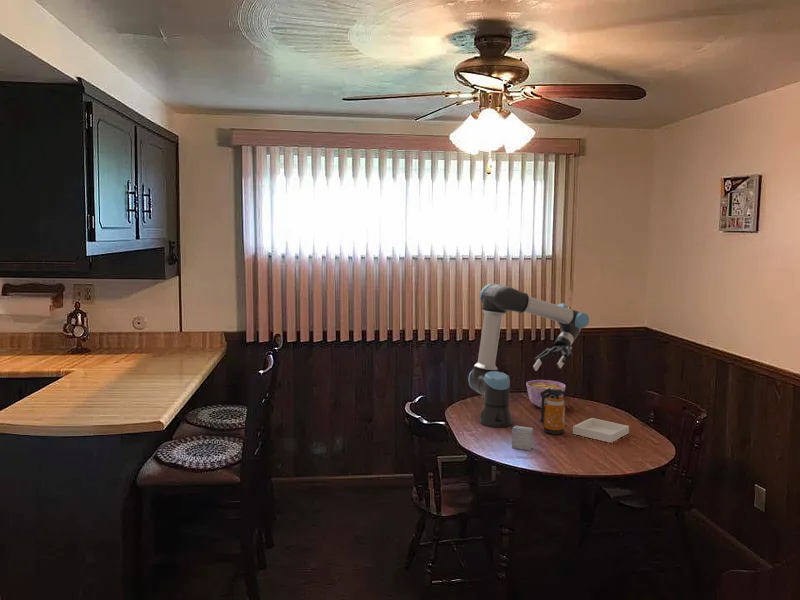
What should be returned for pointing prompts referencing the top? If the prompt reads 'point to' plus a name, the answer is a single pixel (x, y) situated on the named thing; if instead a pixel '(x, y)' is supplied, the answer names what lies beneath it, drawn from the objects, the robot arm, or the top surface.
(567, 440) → the top surface
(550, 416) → the canister
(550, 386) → the bowl of food
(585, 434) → the tray
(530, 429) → the medicine box
